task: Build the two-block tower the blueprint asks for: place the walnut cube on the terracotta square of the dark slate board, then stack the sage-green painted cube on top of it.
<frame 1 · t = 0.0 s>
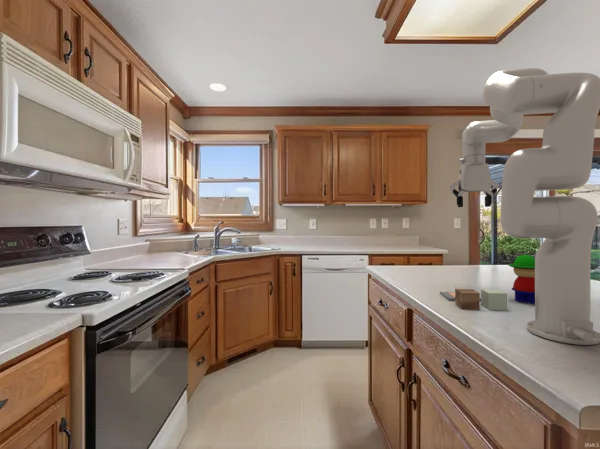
hand: (473, 206, 112), 31 cm above the table, fingers open, 9 cm apart
walnut block: (467, 307, 91), on the table
sage block: (493, 307, 90), on the table
toy: (526, 301, 96), on the table
slate board: (459, 297, 101), on the table
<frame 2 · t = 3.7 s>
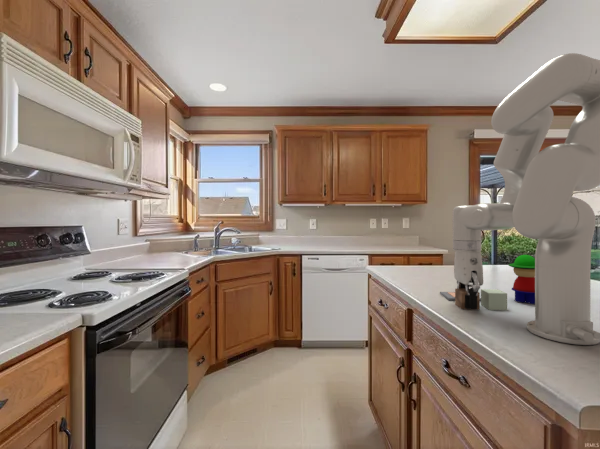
hand: (467, 305, 91), 0 cm above the table, fingers closed on walnut block, 5 cm apart
walnut block: (467, 306, 91), on the table, touching gripper
everything else where it was.
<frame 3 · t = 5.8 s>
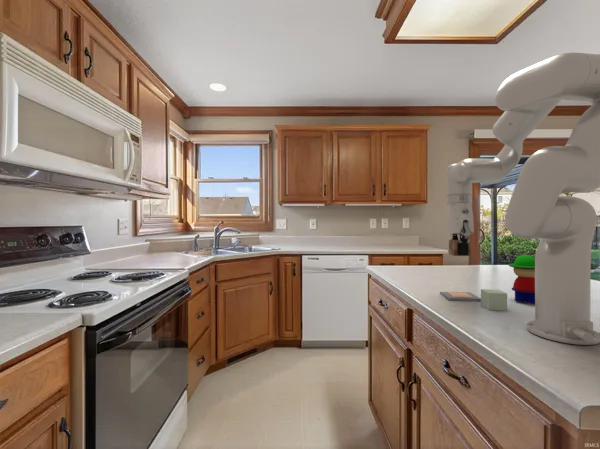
hand: (459, 253, 101), 15 cm above the table, fingers closed on walnut block, 5 cm apart
walnut block: (459, 255, 101), point 14 cm above the table, touching gripper
everything else where it was.
when the fingers open (2 cm above the table, at t = 8.4 s): walnut block stays where it is, resting on slate board.
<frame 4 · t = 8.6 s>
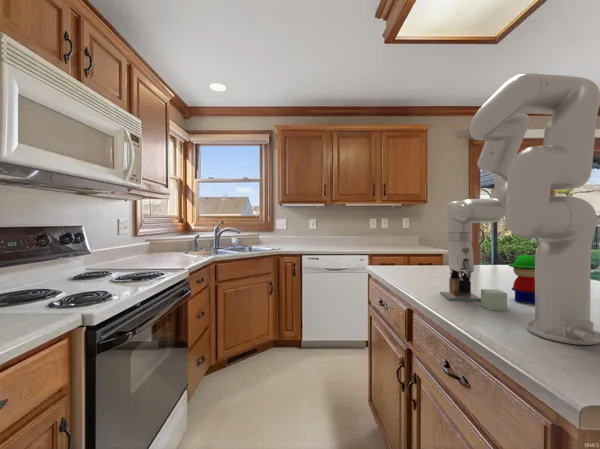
hand: (459, 289, 101), 3 cm above the table, fingers open, 7 cm apart
walnut block: (459, 294, 101), point 1 cm above the table, touching slate board
everything else where it was.
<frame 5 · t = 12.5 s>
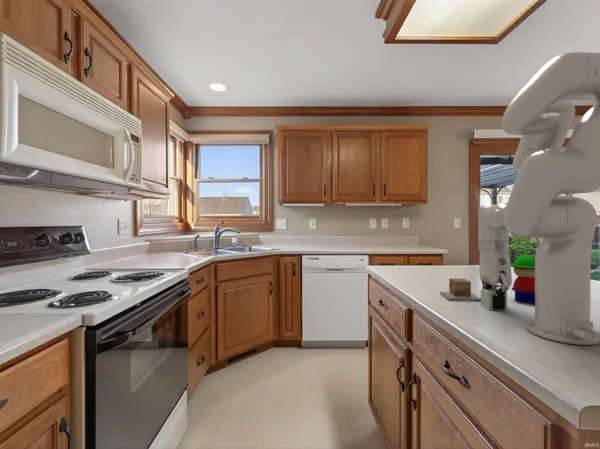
hand: (493, 305, 90), 0 cm above the table, fingers closed on sage block, 5 cm apart
sage block: (493, 307, 90), on the table, touching gripper
everything else where it was.
when the fingers open (7 cm above the table, at t = 17.6 s): sage block stays where it is, resting on walnut block.
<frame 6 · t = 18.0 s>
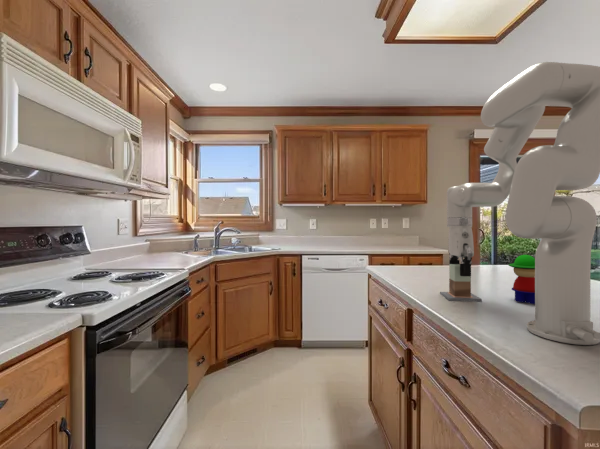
hand: (459, 273, 101), 8 cm above the table, fingers open, 9 cm apart
walnut block: (459, 294, 101), point 1 cm above the table, touching sage block, slate board
sage block: (459, 279, 101), point 6 cm above the table, touching walnut block
everything else where it was.
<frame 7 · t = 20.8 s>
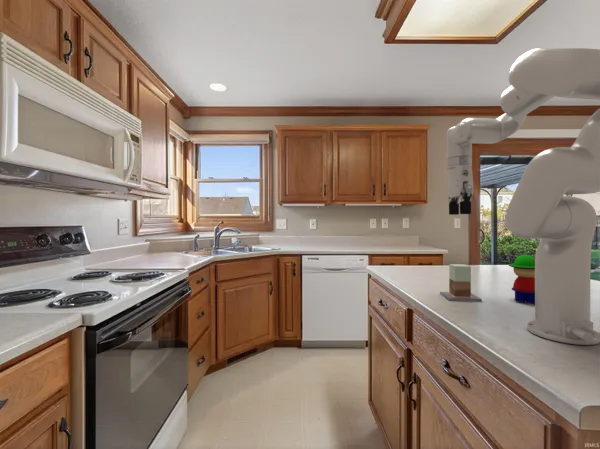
hand: (459, 214, 101), 28 cm above the table, fingers open, 9 cm apart
nothing on the table moved.
at the end: walnut block 0.1 cm off-centre on the slate board, point 1.0 cm above the slate board's base; sage block 0.1 cm off-centre on the walnut block, point 5.0 cm above the walnut block's base; sage block tilted 0° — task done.
